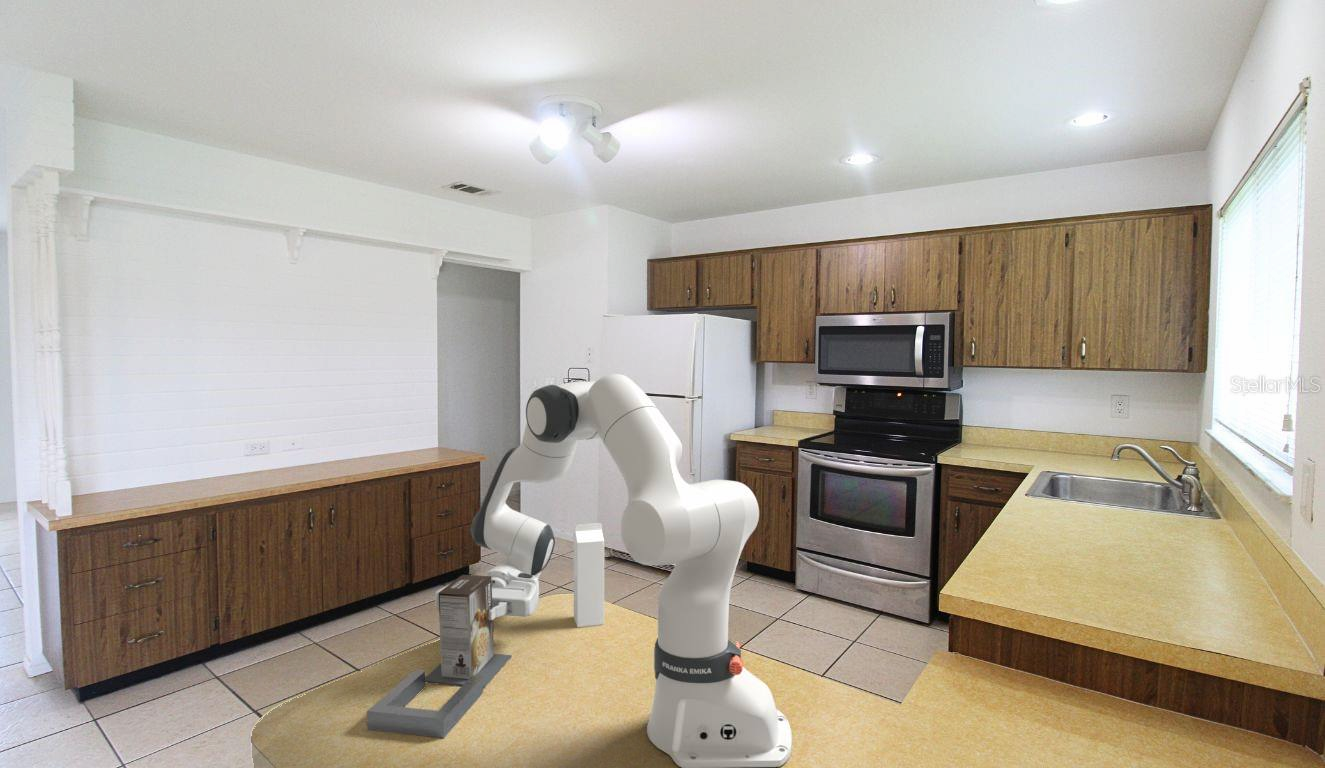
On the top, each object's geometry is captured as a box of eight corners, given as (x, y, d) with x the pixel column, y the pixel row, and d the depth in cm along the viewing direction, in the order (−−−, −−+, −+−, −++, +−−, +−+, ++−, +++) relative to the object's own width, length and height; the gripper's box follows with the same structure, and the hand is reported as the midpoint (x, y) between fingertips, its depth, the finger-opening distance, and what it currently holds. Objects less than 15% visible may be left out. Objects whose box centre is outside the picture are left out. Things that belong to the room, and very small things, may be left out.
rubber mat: (511, 657, 123) (511, 655, 123) (484, 688, 111) (484, 686, 111) (454, 652, 125) (454, 650, 125) (422, 682, 113) (422, 680, 113)
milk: (604, 625, 139) (604, 526, 138) (576, 628, 137) (577, 528, 136) (599, 614, 144) (599, 519, 144) (573, 616, 143) (573, 521, 142)
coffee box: (464, 652, 123) (462, 573, 122) (494, 655, 122) (492, 575, 121) (440, 677, 114) (437, 592, 113) (472, 680, 113) (470, 594, 112)
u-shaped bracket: (483, 692, 110) (483, 676, 110) (443, 738, 96) (443, 719, 96) (415, 686, 112) (414, 669, 112) (367, 729, 99) (367, 711, 98)
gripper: (453, 570, 133) (417, 594, 120) (545, 576, 130) (519, 601, 116) (454, 600, 134) (418, 626, 120) (545, 606, 130) (519, 635, 116)
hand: (468, 614), depth 118 cm, fingers closed on coffee box, 6 cm apart
